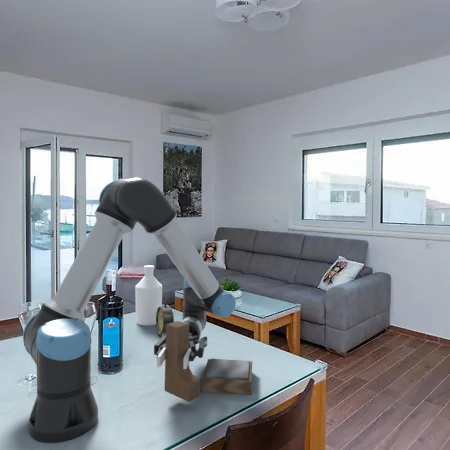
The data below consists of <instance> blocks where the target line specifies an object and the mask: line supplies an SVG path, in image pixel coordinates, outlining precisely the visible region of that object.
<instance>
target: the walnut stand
mask: <svg viewBox="0 0 450 450" xmlns="http://www.w3.org/2000/svg"><path fill="white" fill-rule="evenodd" d="M252 383H253V361H252V360H244V359H243V360H241V359H226V358H225V359H222V358H209V359H207V362H206V365H205V367H204V371H203V373H202V376H201V390H200V393H201V392H202V393H217V394H218V393H219V394H236V395H252V391H253V390H252V387H253V385H252Z"/></svg>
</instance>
